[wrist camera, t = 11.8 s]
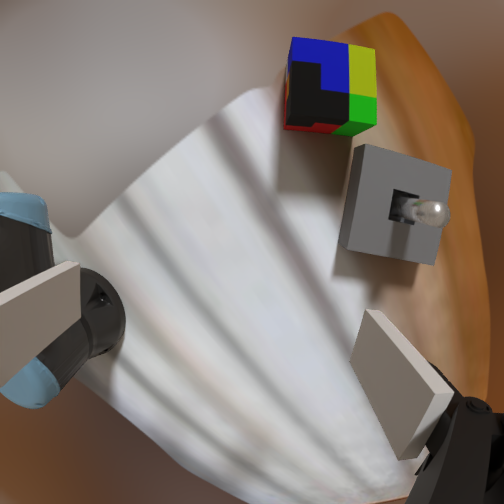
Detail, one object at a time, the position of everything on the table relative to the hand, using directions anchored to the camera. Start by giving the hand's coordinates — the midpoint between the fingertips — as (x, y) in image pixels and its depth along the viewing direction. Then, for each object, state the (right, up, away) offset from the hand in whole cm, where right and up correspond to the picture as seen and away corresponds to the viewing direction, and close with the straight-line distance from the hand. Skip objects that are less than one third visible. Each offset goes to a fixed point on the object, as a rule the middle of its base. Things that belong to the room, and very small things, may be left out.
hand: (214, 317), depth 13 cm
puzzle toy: (+11, +24, +28) cm, 39 cm away
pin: (+22, +9, +29) cm, 37 cm away
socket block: (+22, +10, +30) cm, 39 cm away
